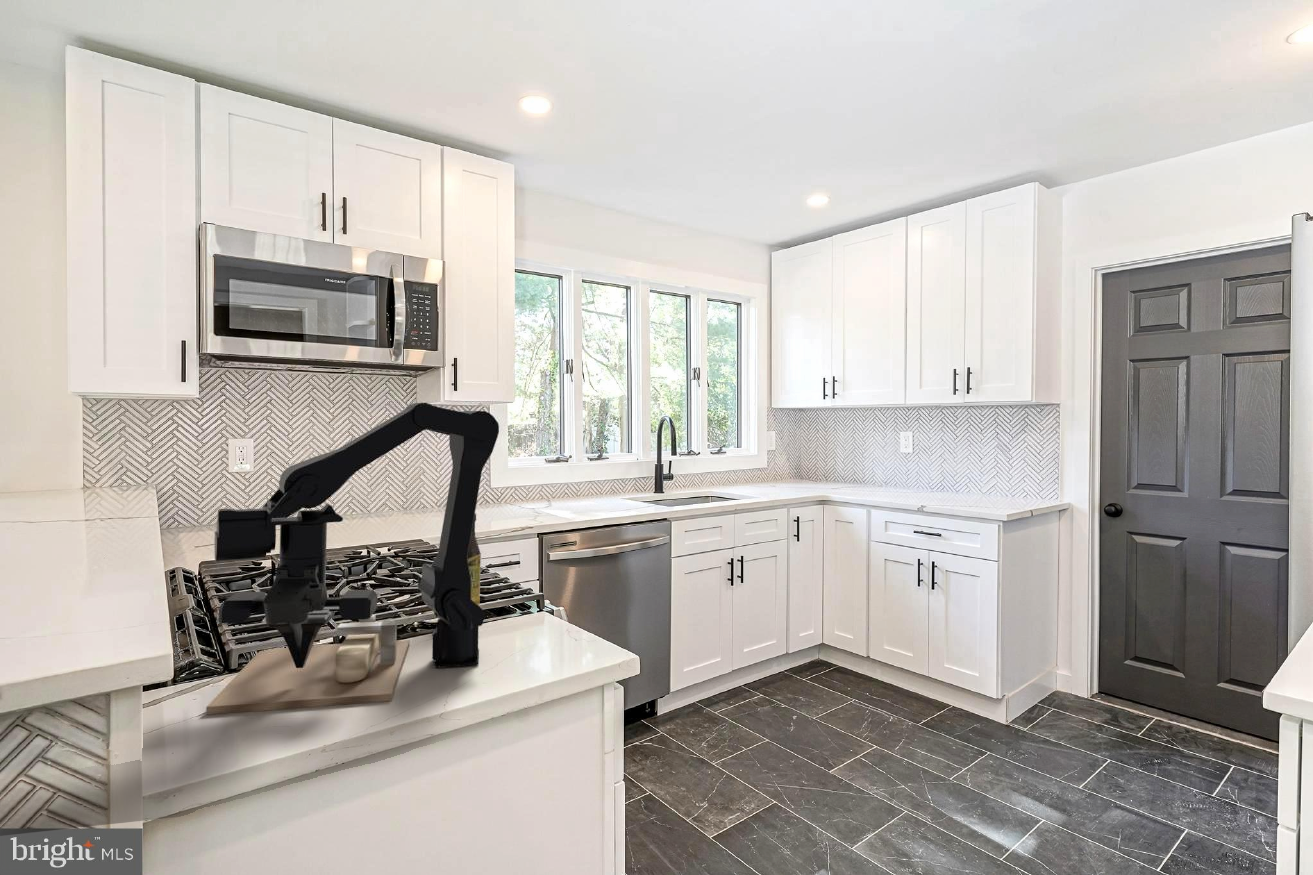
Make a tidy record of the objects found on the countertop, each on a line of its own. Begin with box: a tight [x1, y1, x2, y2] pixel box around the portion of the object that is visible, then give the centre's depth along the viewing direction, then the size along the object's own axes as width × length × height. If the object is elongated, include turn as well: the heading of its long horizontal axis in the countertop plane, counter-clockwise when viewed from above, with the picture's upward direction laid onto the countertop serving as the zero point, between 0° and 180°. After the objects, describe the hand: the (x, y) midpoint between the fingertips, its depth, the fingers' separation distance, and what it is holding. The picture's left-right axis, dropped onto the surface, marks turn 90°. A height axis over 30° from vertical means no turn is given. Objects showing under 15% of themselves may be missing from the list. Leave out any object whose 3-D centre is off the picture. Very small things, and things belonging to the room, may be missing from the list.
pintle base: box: [205, 614, 411, 716], centre depth 98 cm, size 22×22×7 cm
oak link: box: [335, 620, 381, 682], centre depth 101 cm, size 16×5×4 cm, turn 14°
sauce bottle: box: [468, 512, 482, 607], centre depth 129 cm, size 6×6×20 cm
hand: (300, 667), depth 93 cm, fingers closed
